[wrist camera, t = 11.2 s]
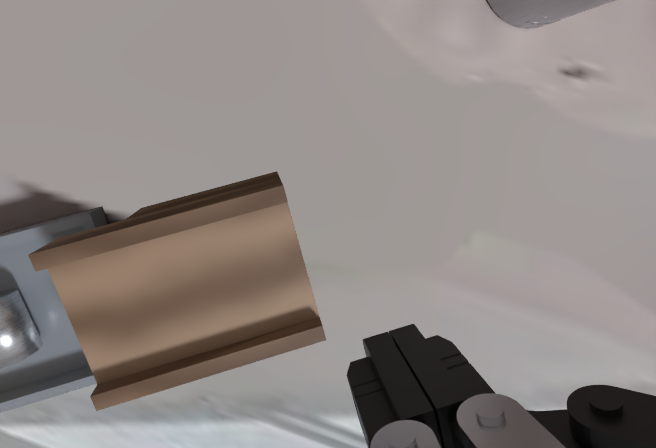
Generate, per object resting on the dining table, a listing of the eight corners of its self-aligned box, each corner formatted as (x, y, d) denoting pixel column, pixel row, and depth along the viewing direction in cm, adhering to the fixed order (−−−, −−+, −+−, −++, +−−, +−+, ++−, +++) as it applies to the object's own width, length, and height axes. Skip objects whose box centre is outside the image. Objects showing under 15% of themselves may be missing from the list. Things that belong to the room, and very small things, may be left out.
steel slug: (-39, 317, 33) (22, 292, 36) (-44, 309, 36) (12, 287, 38) (-9, 375, 34) (48, 347, 37) (-16, 363, 37) (37, 338, 40)
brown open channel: (82, 223, 38) (28, 254, 29) (276, 171, 40) (283, 185, 31) (132, 347, 41) (96, 410, 32) (311, 293, 43) (326, 339, 34)
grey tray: (-122, 266, 37) (-154, 278, 34) (102, 206, 38) (89, 213, 35) (-45, 411, 40) (-68, 433, 37) (157, 350, 42) (150, 367, 39)
